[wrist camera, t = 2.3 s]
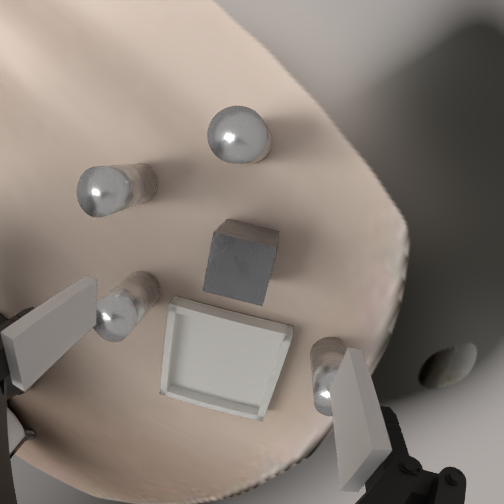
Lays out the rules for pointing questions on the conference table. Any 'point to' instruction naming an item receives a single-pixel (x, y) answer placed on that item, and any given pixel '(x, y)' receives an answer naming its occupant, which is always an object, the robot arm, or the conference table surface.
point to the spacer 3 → (239, 135)
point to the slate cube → (241, 261)
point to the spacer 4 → (325, 370)
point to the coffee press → (16, 432)
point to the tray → (222, 358)
